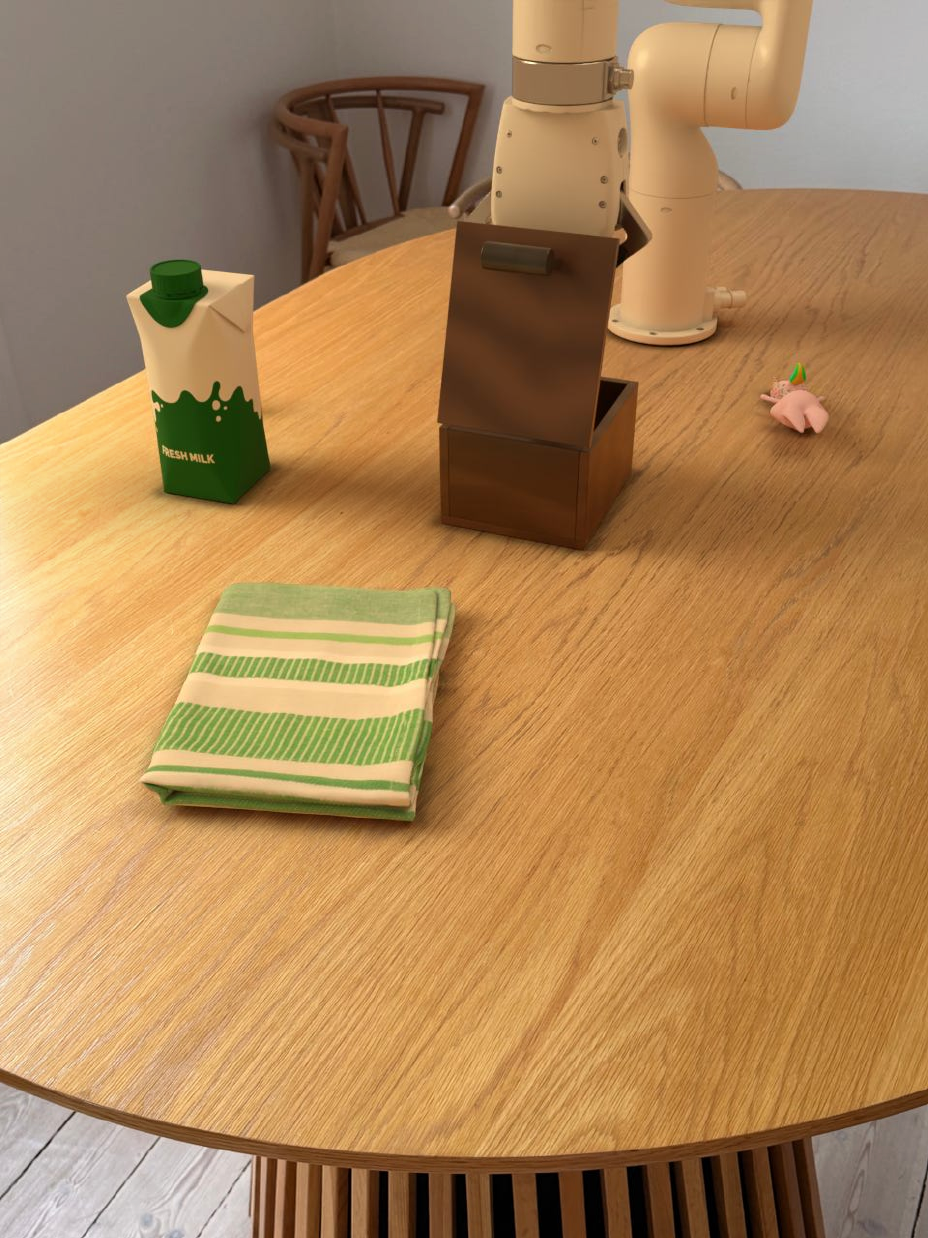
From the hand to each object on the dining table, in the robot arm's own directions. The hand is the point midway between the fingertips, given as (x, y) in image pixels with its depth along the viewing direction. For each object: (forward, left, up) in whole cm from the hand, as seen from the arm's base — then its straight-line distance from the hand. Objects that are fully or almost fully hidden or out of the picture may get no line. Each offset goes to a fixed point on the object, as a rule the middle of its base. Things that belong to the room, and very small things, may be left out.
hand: (554, 318), depth 99 cm
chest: (+1, +2, -15) cm, 15 cm away
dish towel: (+24, +26, -15) cm, 39 cm away
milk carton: (+28, -8, -15) cm, 33 cm away
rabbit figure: (-27, -6, -15) cm, 31 cm away
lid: (+4, +6, +1) cm, 7 cm away
